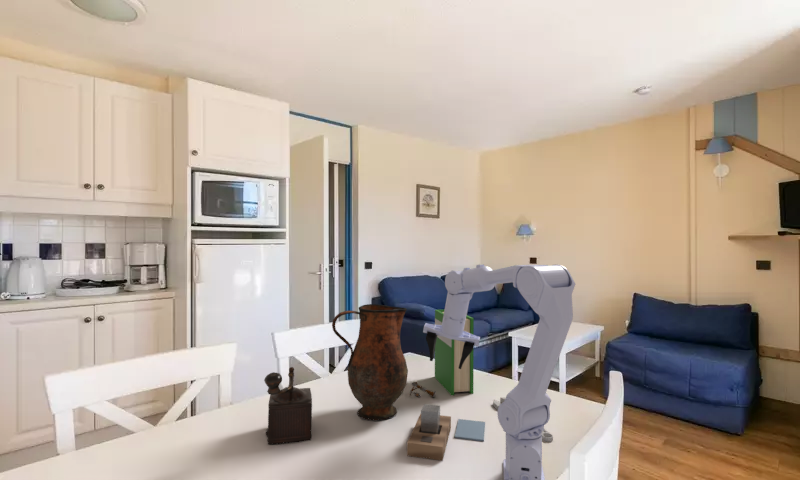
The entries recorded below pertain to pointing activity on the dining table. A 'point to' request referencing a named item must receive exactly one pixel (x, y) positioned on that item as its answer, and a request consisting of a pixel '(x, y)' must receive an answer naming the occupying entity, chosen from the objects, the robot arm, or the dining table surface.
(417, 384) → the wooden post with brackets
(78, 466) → the dining table surface
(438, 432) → the steel peg
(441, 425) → the brown flat rectangular block
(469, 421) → the slate mat
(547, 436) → the adjustable wrench
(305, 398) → the manual coffee grinder
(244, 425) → the dining table surface
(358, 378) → the pitcher
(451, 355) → the hardback book
